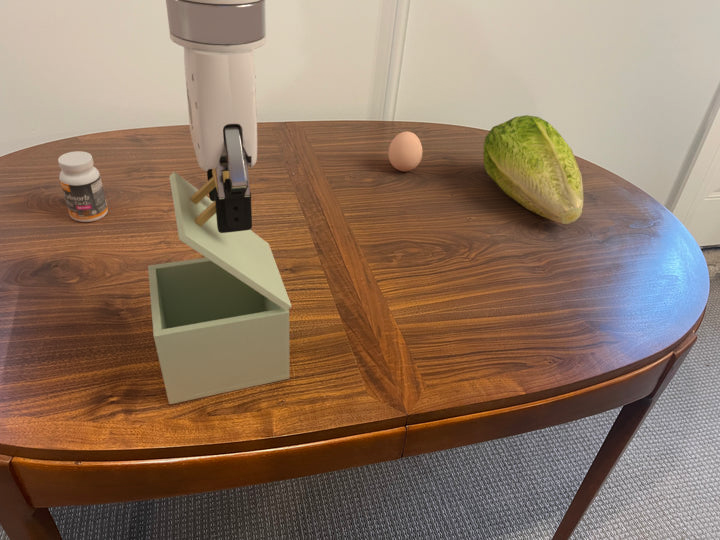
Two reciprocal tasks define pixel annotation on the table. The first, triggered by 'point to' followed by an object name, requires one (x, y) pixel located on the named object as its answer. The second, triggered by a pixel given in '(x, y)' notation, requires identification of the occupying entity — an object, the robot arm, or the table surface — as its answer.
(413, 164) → the egg
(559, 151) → the lettuce
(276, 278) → the lid
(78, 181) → the pill bottle
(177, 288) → the chest
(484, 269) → the table surface
